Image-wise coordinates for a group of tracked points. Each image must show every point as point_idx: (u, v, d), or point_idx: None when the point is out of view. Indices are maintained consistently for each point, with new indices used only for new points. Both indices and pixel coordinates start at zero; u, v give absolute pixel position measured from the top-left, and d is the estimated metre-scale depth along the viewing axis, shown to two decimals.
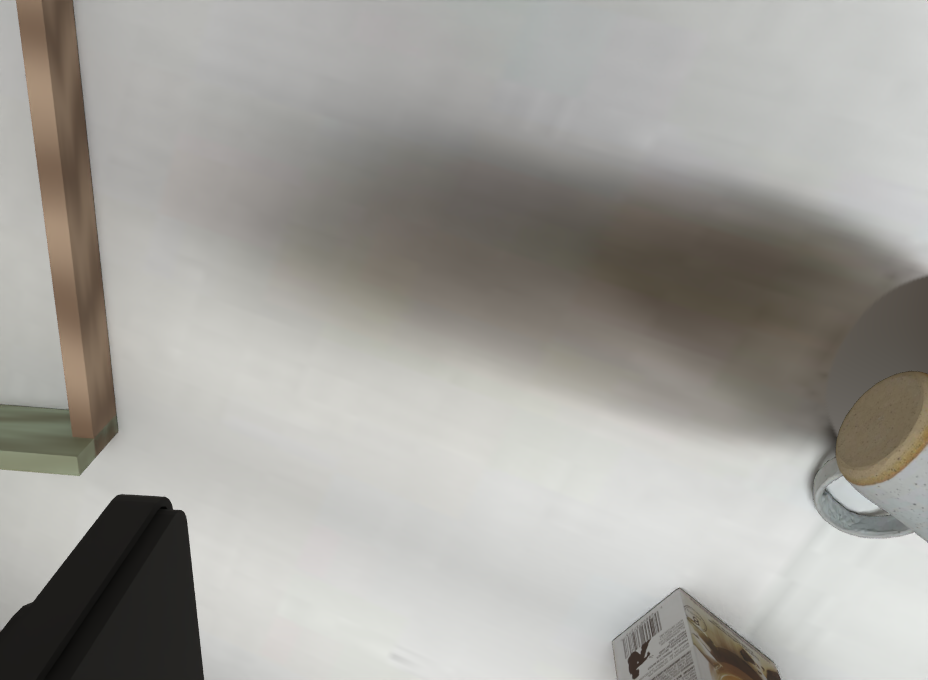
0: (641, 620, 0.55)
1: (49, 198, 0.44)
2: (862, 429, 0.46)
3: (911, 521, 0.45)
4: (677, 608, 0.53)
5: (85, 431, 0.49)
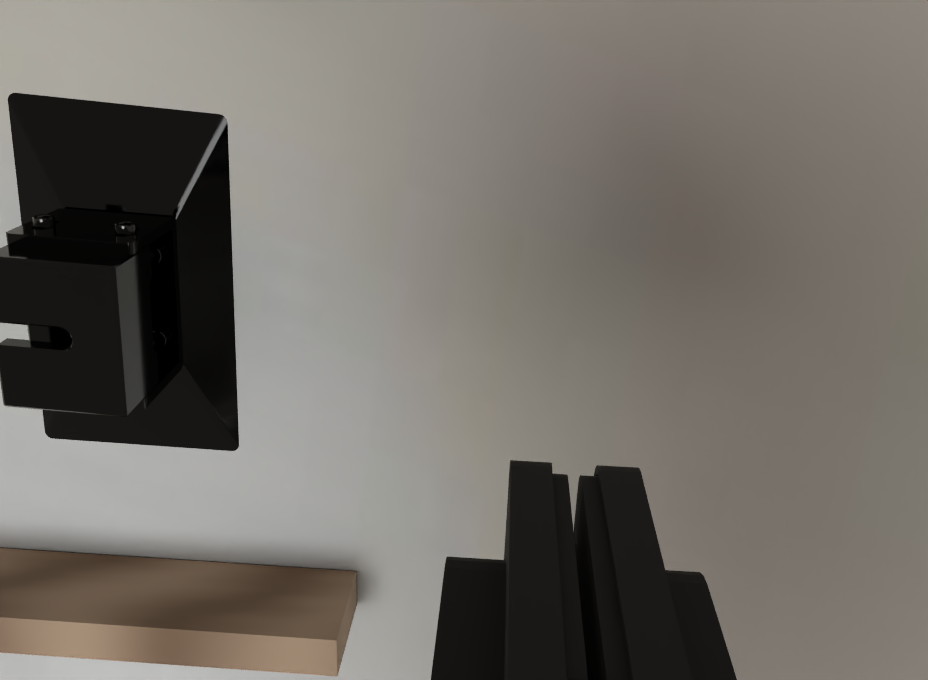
0: None
1: None
2: None
3: None
4: None
5: None
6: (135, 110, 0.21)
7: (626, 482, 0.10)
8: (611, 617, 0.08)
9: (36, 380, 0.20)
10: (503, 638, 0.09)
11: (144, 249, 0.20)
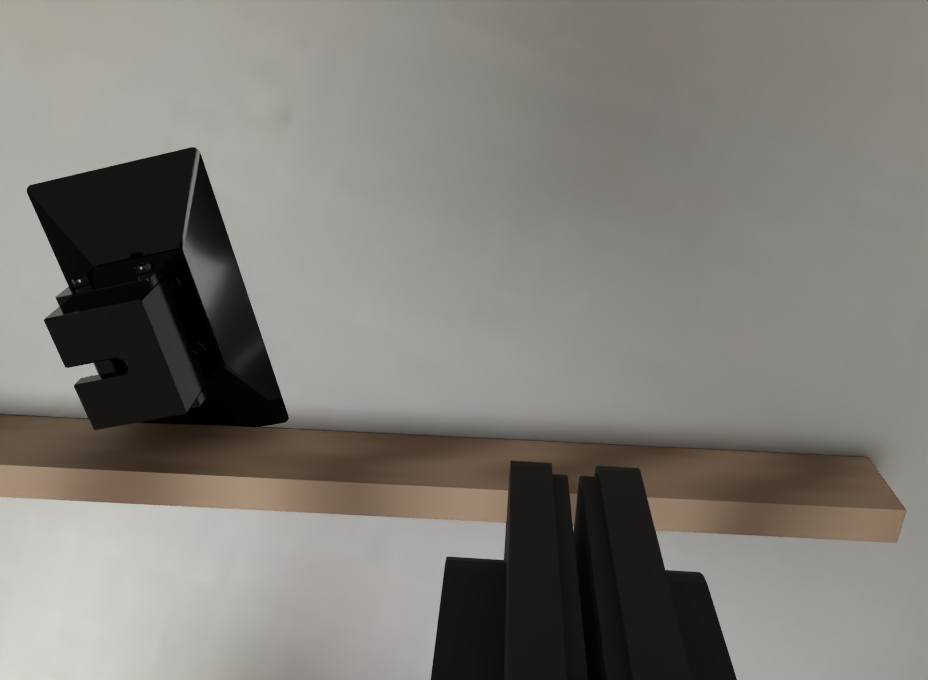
0: None
1: (304, 491, 0.27)
2: None
3: None
4: None
5: None
6: (125, 173, 0.26)
7: (626, 482, 0.10)
8: (611, 617, 0.08)
9: (111, 403, 0.25)
10: (503, 638, 0.09)
11: (162, 280, 0.25)
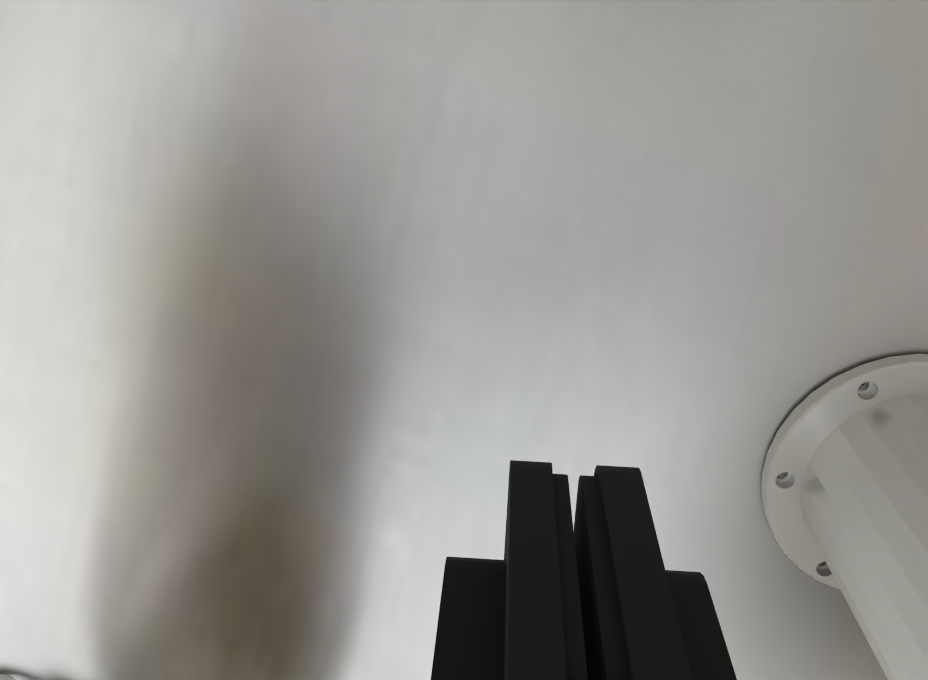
0: None
1: None
2: None
3: None
4: None
5: None
6: None
7: (626, 482, 0.10)
8: (611, 617, 0.08)
9: None
10: (503, 638, 0.09)
11: None
